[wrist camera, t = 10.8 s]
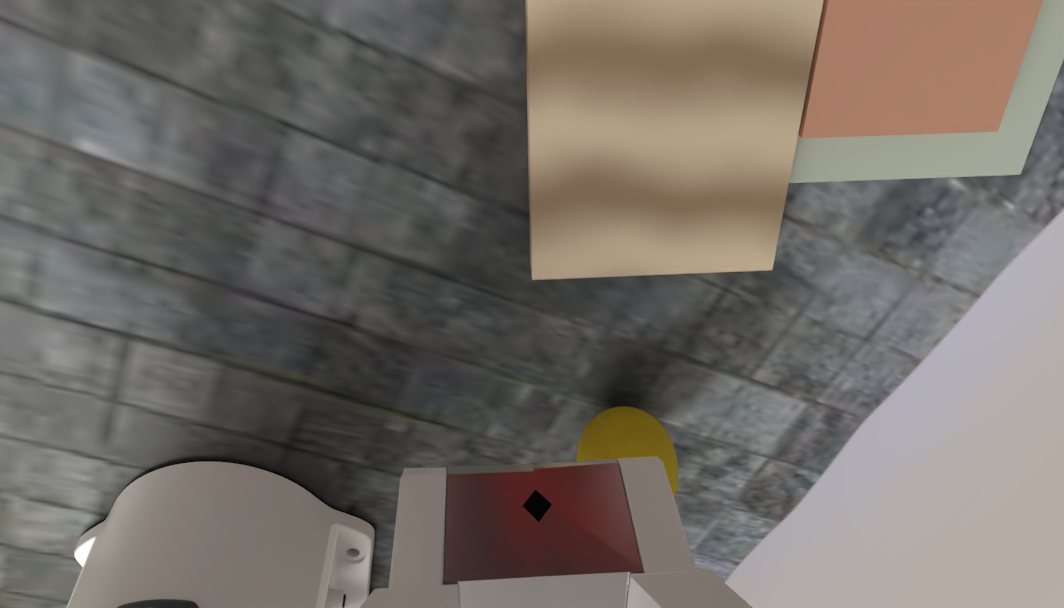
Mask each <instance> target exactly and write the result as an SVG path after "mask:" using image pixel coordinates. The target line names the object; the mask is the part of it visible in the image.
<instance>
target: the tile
mask: <svg viewBox="0 0 1064 608" xmlns="http://www.w3.org/2000/svg"><path fill="white" fill-rule="evenodd" d="M1042 2H1043V0H824V1H823V6H822V11H821V17H820V22H819V27H818V32H817V38H816V43H815V48H814V53H813V59H812V64H811V69H810V74H809V80H808V85H807V90H806V95H805V101H804V106H803V111H802V116H801V122H800V127H799V132H798V135H799V136H800V137H801V138H825V137H855V136H884V135H914V134H943V133H972V132H998V129H999V127H1000V124H1001V121H1002V118H1003V115H1004V112H1005V109H1006V106H1007V103H1008V100H1009V98H1010V95H1011V92H1012V89H1013V86H1014V83H1015V80H1016V77H1017V74H1018V71H1019V68H1020V66H1021V63H1022V60H1023V57H1024V54H1025V51H1026V48H1027V45H1028V42H1029V39H1030V37H1031V34H1032V31H1033V28H1034V25H1035V22H1036V19H1037V16H1038V13H1039V10H1040V7H1041V5H1042Z"/></svg>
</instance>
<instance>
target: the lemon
mask: <svg viewBox="0 0 1064 608" xmlns="http://www.w3.org/2000/svg"><path fill="white" fill-rule="evenodd" d="M652 456H658V457H659V458H660V459H661V460H662V462H663V464H664V467H665V470H666V473H667V477H668V480H669V483H670V486H671V490H672V493H673V496H674V497H675V494H676V491H677V486H678V460H677V455H676V452H675V449H674V446H673V443H672V440H671V438H670V436H669V434H668V432H667V431H666V430H665V428H664V427H663V426H662V425H661V423H660V422H659V421H658V420H657V419H656V418H655V417H653V416H652V415H650V414H649V413H647V412H646V411H643V410H640V409H638V408H635V407H628V406H621V407H614V408H610V409H607V410H605V411H603V412H600V413H599V414H598V415H596V416H595V417H594V418H593V419H592V420H591V421H590V422H589V423H588V424H587V426H586V427H585V428H584V430H583V432H582V435H581V437H580V439H579V442H578V449H577V458H576V461H586V460H603V459H614V460H616V459H618V458H635V457H652Z"/></svg>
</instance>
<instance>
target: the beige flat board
mask: <svg viewBox="0 0 1064 608" xmlns="http://www.w3.org/2000/svg"><path fill="white" fill-rule="evenodd" d="M823 1H824V0H525V14H526V68H527V122H528V175H529V229H530V264H531V273H532V280H545V279H569V278H594V277H618V276H642V275H666V274H691V273H715V272H739V271H763V270H772V269H773V264H774V259H775V253H776V248H777V243H778V238H779V232H780V227H781V222H782V216H783V211H784V206H785V201H786V195H787V190H788V185H789V180H790V174H791V169H792V164H793V159H794V153H795V148H796V143H797V138H798V132H799V127H800V122H801V116H802V111H803V106H804V101H805V95H806V90H807V85H808V80H809V74H810V69H811V64H812V59H813V53H814V48H815V43H816V38H817V32H818V27H819V22H820V17H821V11H822V6H823Z"/></svg>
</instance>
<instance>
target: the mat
mask: <svg viewBox="0 0 1064 608" xmlns="http://www.w3.org/2000/svg"><path fill="white" fill-rule="evenodd" d="M1063 59H1064V0H1043V2H1042V5H1041V7H1040V10H1039V13H1038V16H1037V19H1036V22H1035V25H1034V28H1033V31H1032V34H1031V37H1030V39H1029V42H1028V45H1027V48H1026V51H1025V54H1024V57H1023V60H1022V63H1021V66H1020V68H1019V71H1018V74H1017V77H1016V80H1015V83H1014V86H1013V89H1012V92H1011V95H1010V98H1009V100H1008V103H1007V106H1006V109H1005V112H1004V115H1003V118H1002V121H1001V124H1000V127H999V129H998V132H972V133H943V134H914V135H884V136H855V137H825V138H801V137H800V136H799V135H798V138H797V143H796V148H795V153H794V159H793V164H792V169H791V174H790V180H789V183H809V182H836V181H863V180H890V179H917V178H944V177H971V176H998V175H1021V172H1022V169H1023V167H1024V164H1025V161H1026V159H1027V156H1028V153H1029V150H1030V148H1031V145H1032V142H1033V140H1034V137H1035V134H1036V132H1037V129H1038V126H1039V124H1040V121H1041V118H1042V116H1043V113H1044V110H1045V108H1046V105H1047V102H1048V100H1049V97H1050V94H1051V92H1052V89H1053V86H1054V84H1055V81H1056V78H1057V75H1058V73H1059V70H1060V67H1061V65H1062V62H1063Z"/></svg>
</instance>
